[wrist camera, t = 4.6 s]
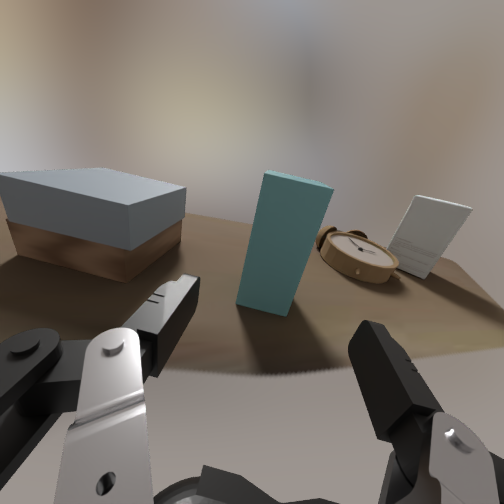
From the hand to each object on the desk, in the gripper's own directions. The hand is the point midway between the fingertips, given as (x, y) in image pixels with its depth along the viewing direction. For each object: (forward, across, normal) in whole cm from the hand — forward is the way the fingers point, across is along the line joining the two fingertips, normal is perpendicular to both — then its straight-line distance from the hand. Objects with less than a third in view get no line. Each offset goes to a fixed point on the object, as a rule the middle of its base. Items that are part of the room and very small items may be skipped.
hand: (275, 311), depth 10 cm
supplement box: (+30, -26, +7) cm, 40 cm away
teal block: (+10, 0, +6) cm, 12 cm away
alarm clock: (+26, -14, +7) cm, 30 cm away
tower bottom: (+12, +18, +7) cm, 23 cm away
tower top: (+12, +18, +3) cm, 21 cm away
